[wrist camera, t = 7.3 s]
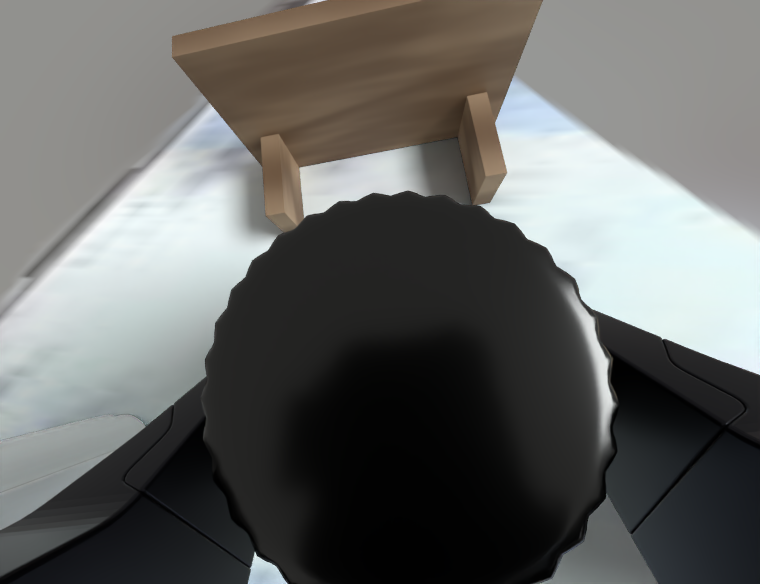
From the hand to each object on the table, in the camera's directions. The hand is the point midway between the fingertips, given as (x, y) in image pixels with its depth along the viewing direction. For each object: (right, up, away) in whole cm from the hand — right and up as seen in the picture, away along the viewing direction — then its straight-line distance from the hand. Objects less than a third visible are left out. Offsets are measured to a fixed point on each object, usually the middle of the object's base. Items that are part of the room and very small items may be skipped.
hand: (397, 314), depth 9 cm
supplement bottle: (+1, -3, +6) cm, 7 cm away
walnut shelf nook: (-1, +9, +12) cm, 15 cm away
